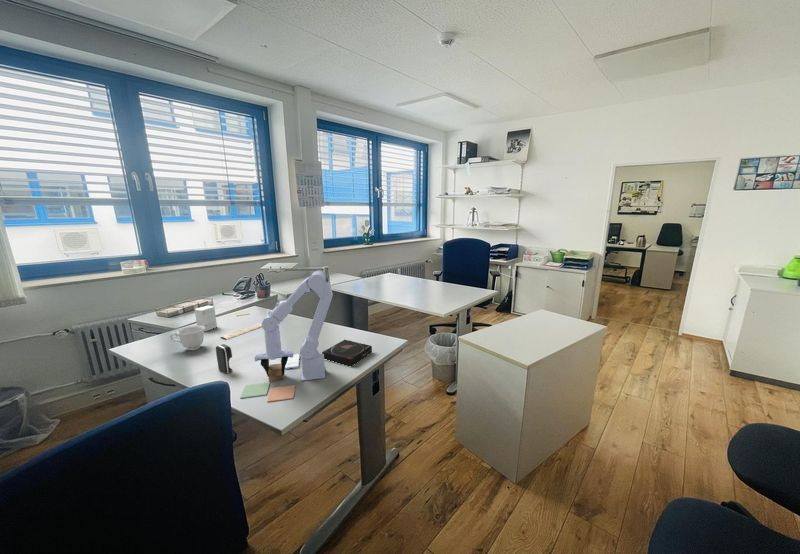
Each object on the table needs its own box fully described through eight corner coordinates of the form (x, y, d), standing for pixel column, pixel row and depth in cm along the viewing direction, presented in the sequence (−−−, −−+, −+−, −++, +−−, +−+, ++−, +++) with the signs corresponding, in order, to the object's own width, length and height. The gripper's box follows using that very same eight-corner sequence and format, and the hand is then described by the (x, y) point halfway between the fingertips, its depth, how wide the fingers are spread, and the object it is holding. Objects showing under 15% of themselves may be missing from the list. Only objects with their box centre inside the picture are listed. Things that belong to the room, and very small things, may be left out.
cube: (283, 374, 135) (282, 363, 134) (282, 380, 131) (281, 368, 130) (270, 375, 134) (269, 364, 133) (269, 381, 129) (268, 370, 128)
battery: (235, 370, 139) (232, 345, 136) (226, 374, 136) (223, 349, 133) (226, 366, 143) (223, 342, 140) (218, 369, 140) (214, 345, 137)
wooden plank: (226, 341, 172) (226, 338, 172) (218, 338, 176) (218, 335, 175) (264, 327, 192) (263, 324, 192) (256, 325, 196) (256, 322, 195)
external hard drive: (300, 356, 152) (298, 369, 141) (281, 359, 150) (279, 371, 139) (299, 353, 152) (298, 365, 140) (281, 355, 150) (278, 368, 138)
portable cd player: (343, 346, 163) (343, 339, 162) (371, 353, 155) (371, 345, 154) (321, 359, 149) (321, 351, 148) (351, 368, 141) (350, 359, 140)
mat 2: (295, 385, 126) (295, 385, 126) (293, 398, 118) (293, 397, 117) (270, 389, 124) (270, 388, 124) (267, 402, 115) (267, 401, 115)
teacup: (174, 347, 163) (171, 328, 161) (208, 341, 170) (205, 323, 168) (170, 356, 153) (167, 336, 151) (206, 350, 159) (204, 331, 157)
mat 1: (270, 382, 129) (270, 381, 128) (266, 395, 120) (266, 394, 120) (245, 385, 126) (245, 384, 126) (240, 398, 118) (240, 397, 118)
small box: (210, 325, 194) (208, 305, 191) (217, 327, 191) (214, 306, 188) (197, 330, 187) (194, 308, 184) (203, 332, 184) (200, 310, 181)
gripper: (251, 349, 124) (255, 382, 127) (291, 345, 127) (293, 377, 130) (255, 342, 131) (258, 373, 133) (292, 339, 134) (295, 369, 137)
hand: (276, 374), depth 132 cm, fingers closed on cube, 5 cm apart
